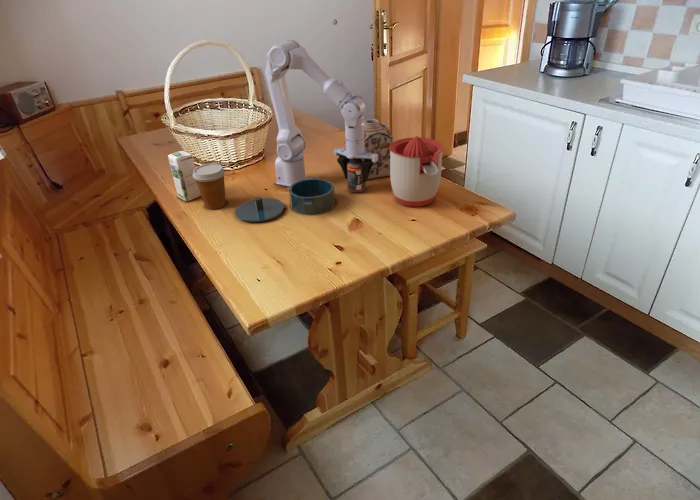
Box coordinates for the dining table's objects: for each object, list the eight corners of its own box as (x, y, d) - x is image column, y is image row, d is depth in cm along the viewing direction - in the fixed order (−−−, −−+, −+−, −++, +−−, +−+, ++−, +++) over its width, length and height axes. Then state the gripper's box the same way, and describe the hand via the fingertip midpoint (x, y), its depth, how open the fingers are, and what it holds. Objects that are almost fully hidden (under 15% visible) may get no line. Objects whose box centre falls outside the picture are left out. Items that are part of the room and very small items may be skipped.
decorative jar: (381, 163, 171) (381, 113, 161) (394, 175, 161) (394, 123, 152) (350, 168, 168) (348, 118, 158) (361, 181, 158) (359, 128, 149)
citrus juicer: (407, 218, 136) (409, 152, 125) (380, 194, 149) (379, 133, 139) (453, 206, 141) (459, 141, 130) (423, 184, 154) (426, 124, 144)
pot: (285, 219, 139) (283, 202, 136) (296, 190, 155) (294, 175, 152) (331, 218, 138) (330, 202, 135) (337, 190, 154) (336, 174, 151)
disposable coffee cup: (193, 209, 146) (184, 173, 140) (212, 196, 154) (204, 161, 147) (219, 213, 143) (211, 177, 137) (236, 200, 151) (230, 164, 144)
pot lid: (229, 224, 138) (227, 209, 135) (242, 201, 150) (240, 187, 147) (279, 223, 136) (277, 209, 134) (288, 200, 149) (286, 187, 146)
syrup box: (177, 197, 154) (166, 155, 146) (193, 191, 158) (183, 149, 150) (186, 202, 151) (175, 159, 143) (202, 195, 154) (192, 153, 147)
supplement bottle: (364, 193, 150) (363, 160, 144) (345, 192, 151) (344, 159, 145) (367, 185, 155) (366, 152, 148) (349, 184, 156) (348, 152, 150)
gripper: (327, 139, 144) (330, 180, 151) (370, 145, 138) (371, 188, 145) (339, 132, 149) (341, 172, 156) (380, 138, 143) (381, 179, 150)
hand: (356, 179), depth 151 cm, fingers closed on supplement bottle, 6 cm apart
